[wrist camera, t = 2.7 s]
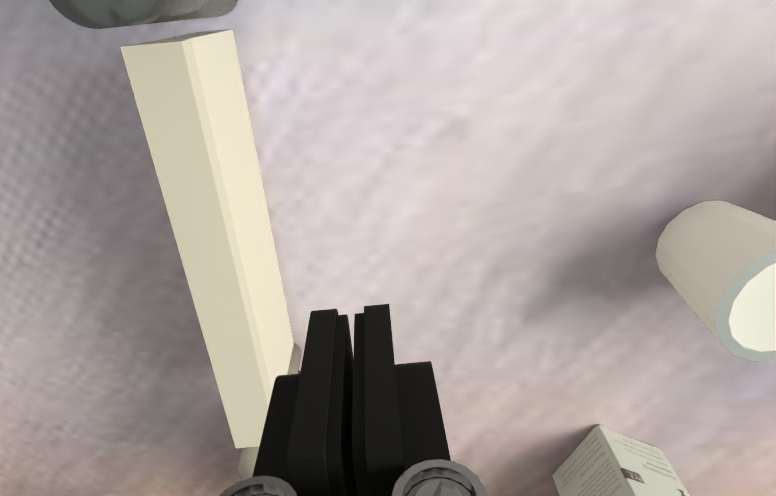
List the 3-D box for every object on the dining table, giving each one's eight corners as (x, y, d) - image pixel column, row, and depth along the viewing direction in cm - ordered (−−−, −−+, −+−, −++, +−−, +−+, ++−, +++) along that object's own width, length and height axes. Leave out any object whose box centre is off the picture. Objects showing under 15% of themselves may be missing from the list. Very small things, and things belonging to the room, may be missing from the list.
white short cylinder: (732, 297, 33) (819, 368, 26) (629, 287, 32) (694, 358, 26) (780, 196, 30) (892, 249, 23) (668, 183, 29) (752, 234, 23)
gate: (197, 31, 24) (113, 47, 16) (240, 28, 24) (176, 42, 16) (272, 366, 33) (241, 486, 25) (303, 364, 33) (282, 482, 25)
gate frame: (120, -310, 19) (-188, -699, 9) (183, -316, 19) (-46, -711, 9) (294, 469, 38) (266, 657, 27) (327, 467, 38) (311, 653, 27)
